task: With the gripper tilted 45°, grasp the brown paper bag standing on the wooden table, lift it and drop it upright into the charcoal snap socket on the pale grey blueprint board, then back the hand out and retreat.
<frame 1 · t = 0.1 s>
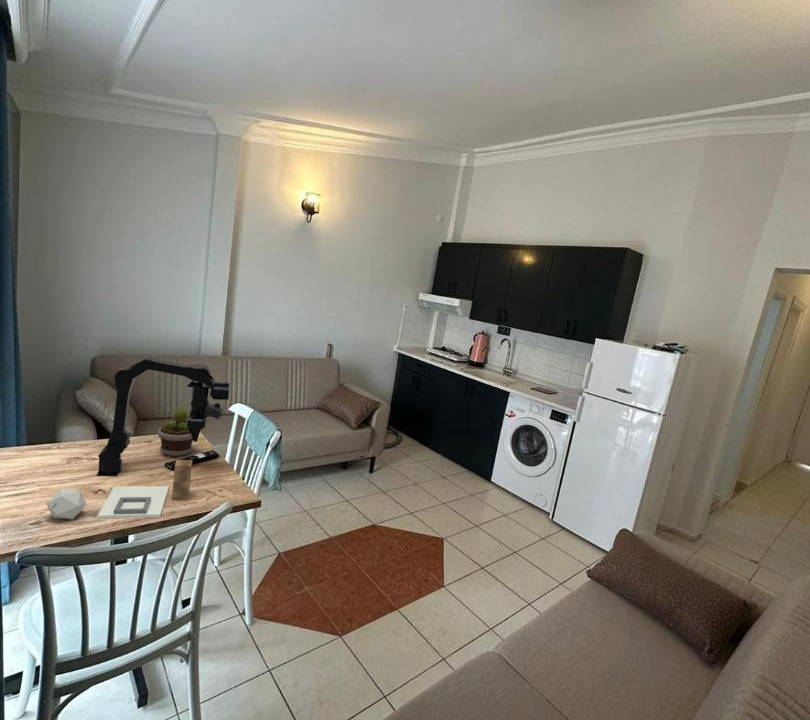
hand: (196, 437, 177), 15 cm above the table, tool pointing down, fingers open, 9 cm apart
die: (66, 516, 138), on the table
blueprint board: (132, 510, 147), on the table
flowerpot: (175, 453, 195), on the table
brown paper bag: (180, 496, 160), on the table
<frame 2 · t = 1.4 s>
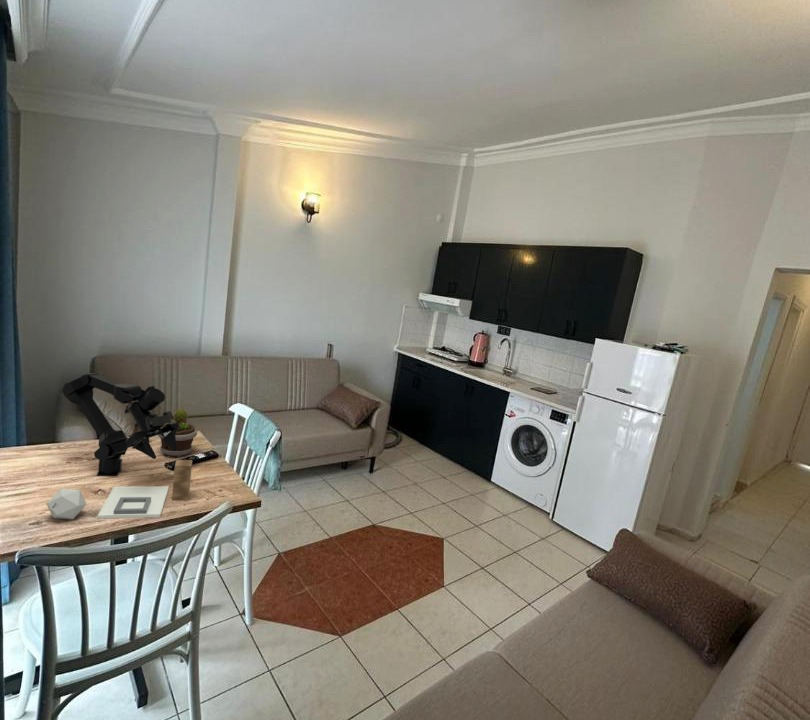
hand: (165, 454, 161), 13 cm above the table, tool tilted 45°, fingers open, 9 cm apart
nothing on the table moved.
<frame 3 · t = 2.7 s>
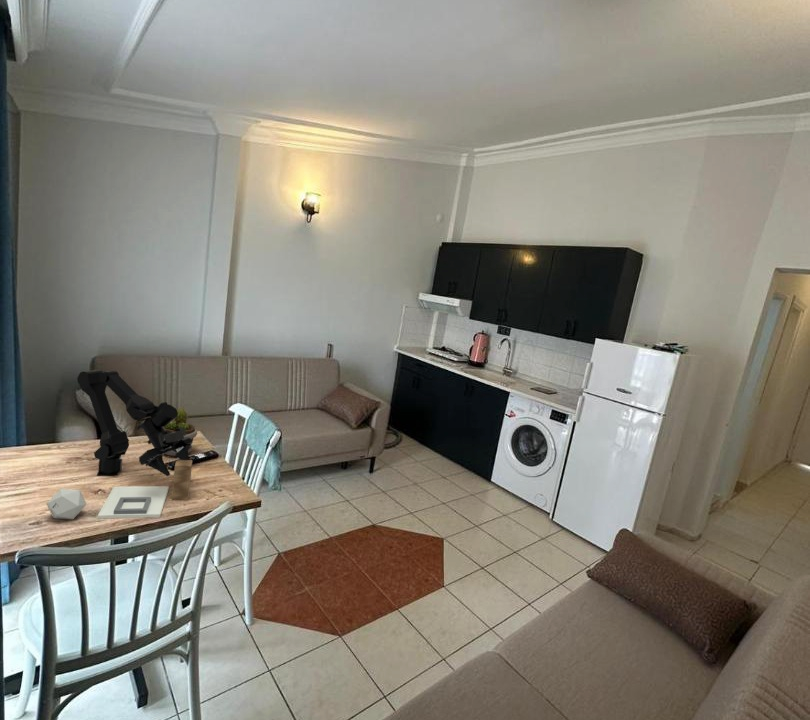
hand: (179, 470, 159), 9 cm above the table, tool tilted 45°, fingers open, 9 cm apart
nothing on the table moved.
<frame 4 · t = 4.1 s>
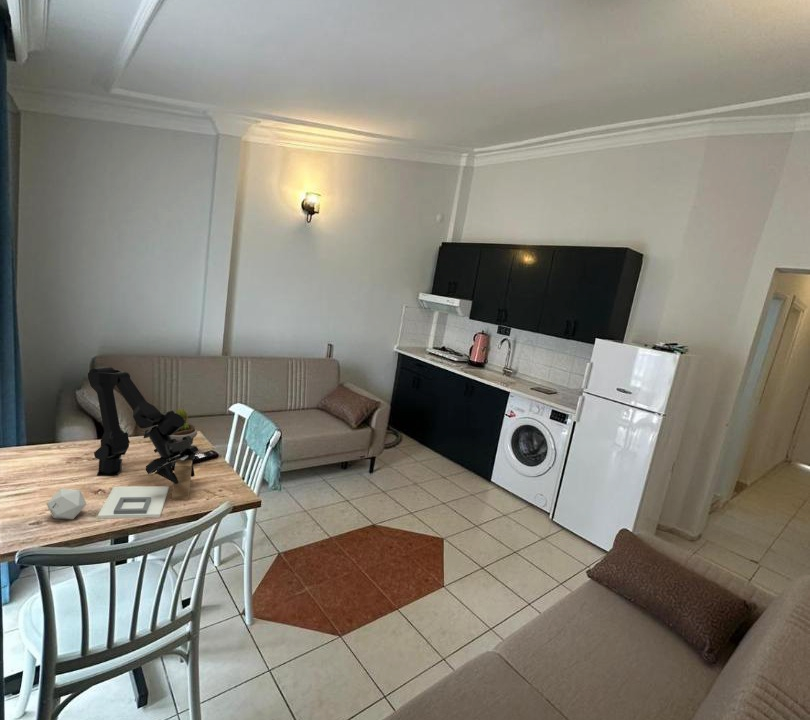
hand: (185, 479, 159), 7 cm above the table, tool tilted 45°, fingers closed on brown paper bag, 7 cm apart
brown paper bag: (180, 496, 160), on the table, touching gripper
everything else where it was.
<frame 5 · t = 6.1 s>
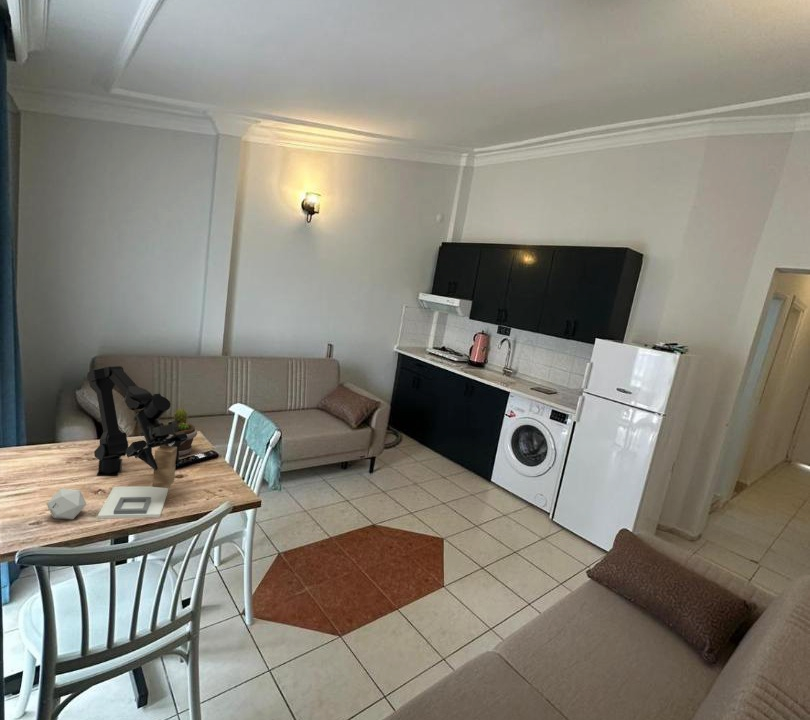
hand: (167, 466, 151), 13 cm above the table, tool tilted 45°, fingers closed on brown paper bag, 7 cm apart
brown paper bag: (163, 484, 153), point 7 cm above the table, touching gripper
everything else where it was.
when the fingers open (9 cm above the table, at t = 8.3 s): brown paper bag stays where it is, resting on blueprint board.
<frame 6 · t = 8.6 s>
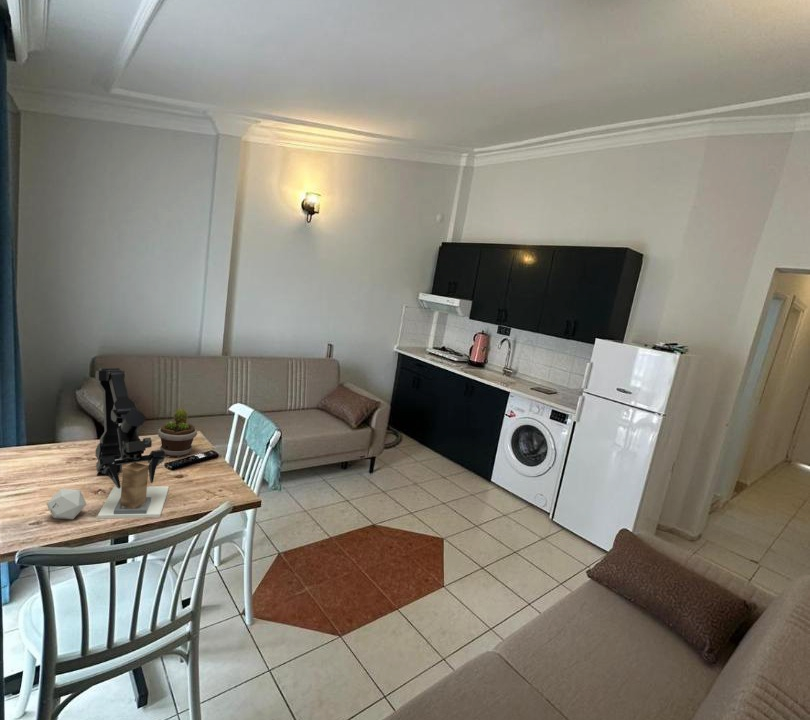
hand: (136, 485, 145), 9 cm above the table, tool tilted 45°, fingers open, 9 cm apart
brown paper bag: (133, 503, 147), point 2 cm above the table, touching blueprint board
everything else where it was.
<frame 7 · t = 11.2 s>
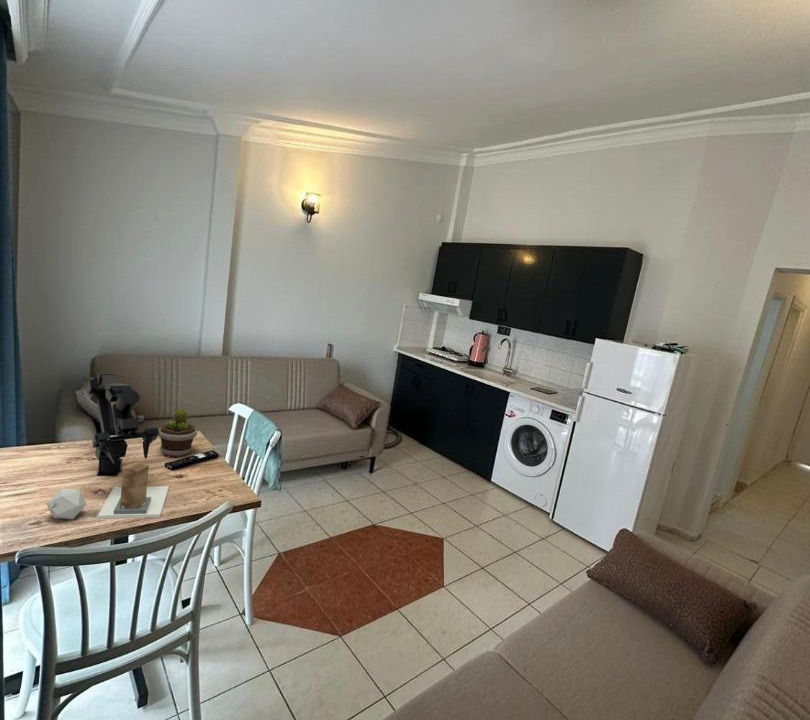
hand: (130, 460, 151), 14 cm above the table, tool tilted 45°, fingers open, 9 cm apart
nothing on the table moved.
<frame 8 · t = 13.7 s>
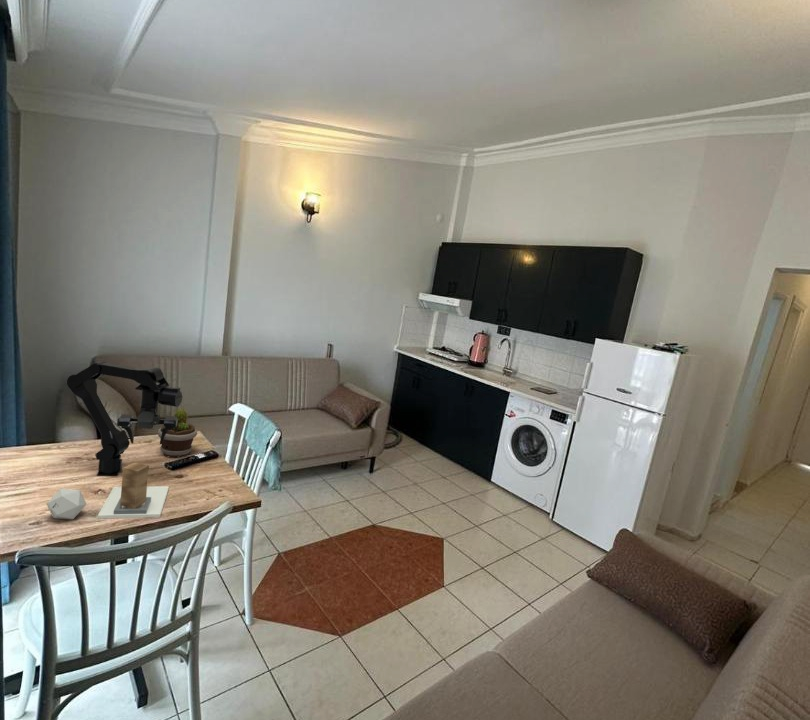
hand: (146, 443, 168), 13 cm above the table, tool pointing down, fingers open, 9 cm apart
nothing on the table moved.
at the end: brown paper bag 0.0 cm off-centre on the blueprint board, point 2.2 cm above the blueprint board's base; brown paper bag tilted 0°; the gripper is holding nothing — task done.
